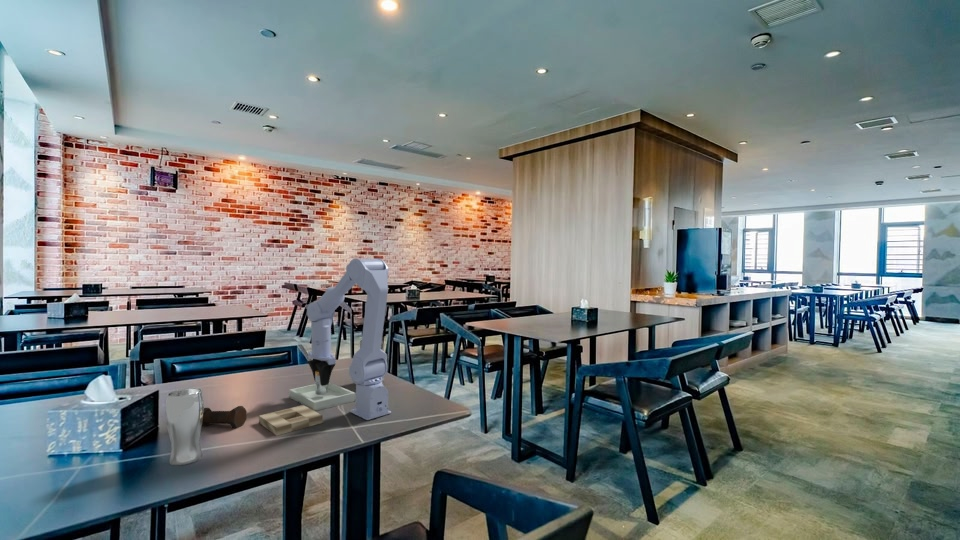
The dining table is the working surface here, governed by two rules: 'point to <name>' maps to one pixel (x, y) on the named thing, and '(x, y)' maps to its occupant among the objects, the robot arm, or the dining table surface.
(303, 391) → the parts tray
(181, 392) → the beer glass
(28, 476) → the dining table surface
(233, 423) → the dark brown dumbbell
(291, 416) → the wooden square frame
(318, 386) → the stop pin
